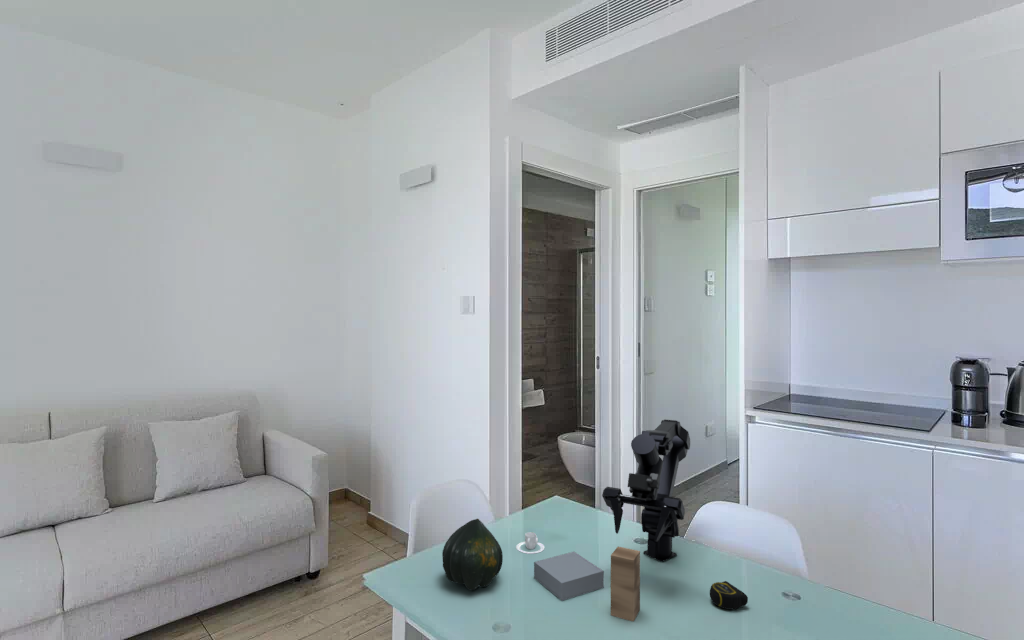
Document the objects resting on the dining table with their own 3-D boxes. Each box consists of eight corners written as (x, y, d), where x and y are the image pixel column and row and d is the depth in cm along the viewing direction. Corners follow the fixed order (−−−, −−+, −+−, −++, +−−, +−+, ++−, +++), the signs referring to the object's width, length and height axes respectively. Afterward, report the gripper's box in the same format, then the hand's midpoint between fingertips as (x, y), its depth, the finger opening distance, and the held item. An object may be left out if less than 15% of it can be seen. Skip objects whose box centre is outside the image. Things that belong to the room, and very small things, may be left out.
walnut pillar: (617, 604, 119) (617, 546, 119) (639, 610, 117) (640, 551, 116) (610, 615, 115) (610, 555, 114) (633, 621, 112) (633, 560, 112)
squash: (444, 581, 118) (484, 522, 123) (423, 557, 132) (459, 504, 137) (488, 611, 123) (524, 554, 128) (463, 585, 136) (497, 534, 141)
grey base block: (573, 566, 137) (573, 551, 137) (603, 587, 126) (603, 570, 126) (534, 578, 131) (534, 561, 131) (561, 600, 120) (561, 583, 120)
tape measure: (749, 610, 117) (749, 593, 117) (723, 615, 115) (723, 598, 115) (728, 594, 123) (728, 578, 123) (703, 599, 121) (703, 582, 121)
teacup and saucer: (528, 539, 154) (528, 525, 154) (551, 546, 150) (551, 532, 150) (510, 550, 147) (510, 535, 147) (534, 558, 143) (534, 542, 143)
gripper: (604, 453, 132) (588, 512, 122) (682, 464, 123) (671, 528, 113) (614, 477, 139) (600, 534, 129) (688, 488, 130) (679, 551, 120)
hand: (635, 536), depth 123 cm, fingers open, 9 cm apart
